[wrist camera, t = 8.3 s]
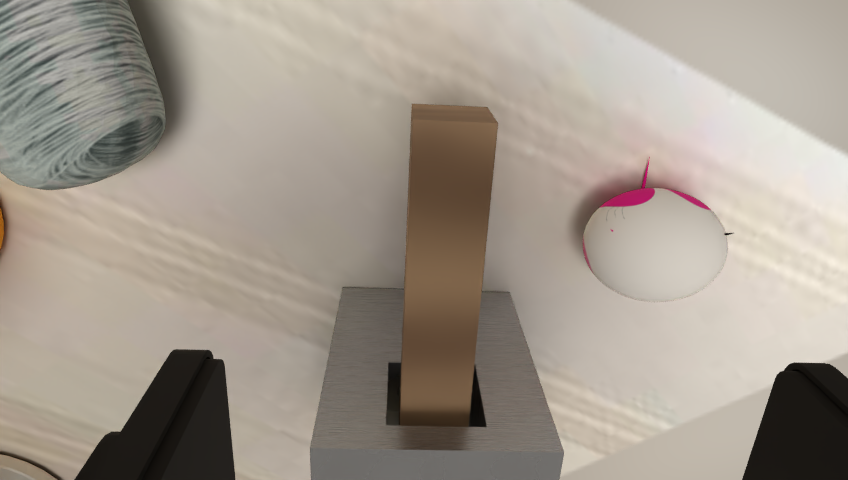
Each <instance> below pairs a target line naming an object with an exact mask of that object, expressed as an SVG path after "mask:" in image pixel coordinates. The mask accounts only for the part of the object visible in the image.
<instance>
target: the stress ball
mask: <svg viewBox="0 0 848 480" xmlns="http://www.w3.org/2000/svg"><path fill="white" fill-rule="evenodd" d="M649 158H650V157H649ZM648 165H649V161H648ZM648 165H647V169H646V172H645V176H644V180H643V184H642V188H641V189H637V190H633V191H628V192H625V193H622V194H620V195H618V196H616V197H614V198H612V199H610V200H608V201H607V202H605V203H604V204H603V205H602V206H600V207H599V208H598V209H597V210H596V211H595V213H594V214H593V215H592V216H591V218H590V219H589V221H588V223H587V225H586V228H585V231H584V235H583V252H584V256H585V259H586V262H587V264H588V266H589V268H590V269H591V271H592V272H593V274H594V275H595V276H596V277H597V278H598V279H599V280H600V281H601V282H602V283H603V284H604V285H606V286H607V287H608V288H610V289H612V290H613V291H615V292H617V293H619V294H621V295H624V296H626V297H629V298H633V299H636V300H642V301H649V302H666V301H674V300H678V299H682V298H685V297H688V296H691V295H693V294H695V293H697V292H699V291H700V290H702V289H704V288H705V287H706V286H708V285H709V284H710V283H711V282H712V281H713V280H714V279H715V278H716V277H717V276H718V274H719V273H720V271H721V270H722V268H723V266H724V263H725V260H726V257H727V251H728V242H727V236H726V235H729V234H733V233H725V230H724V227H723V225H722V223H721V222H720V220H719V219H718V217H717V216H716V215H715V213H714V212H713V211H712V210H711V209H710V208H708V207H707V206H706V205H705V204H703V203H702V202H701V201H699V200H697V199H695V198H694V197H691V196H689V195H687V194H684V193H681V192H678V191H674V190H669V189H661V188H645V184H646V178H647V171H648Z"/></svg>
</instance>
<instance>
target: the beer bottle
mask: <svg viewBox="0 0 848 480" xmlns="http://www.w3.org/2000/svg"><path fill="white" fill-rule="evenodd" d="M3 236H4V221H3V217H2V212H1V208H0V250H1V246H2V241H3Z"/></svg>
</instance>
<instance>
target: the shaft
mask: <svg viewBox="0 0 848 480" xmlns="http://www.w3.org/2000/svg"><path fill="white" fill-rule="evenodd" d="M497 129H498V122H497V121H496V119H495V118H494V117H493V115H492V114H491V112H490V111H489V109H488V108H487V107H471V106H449V105H426V104H412V111H411V135H410V159H409V183H408V208H407V232H406V256H405V280H404V304H403V328H402V352H401V376H400V400H399V424H398V425H400V426H452V427H468V425H469V415H470V404H471V394H472V384H473V374H474V364H475V353H476V343H477V333H478V323H479V312H480V302H481V292H482V282H483V272H484V261H485V251H486V241H487V231H488V221H489V210H490V200H491V190H492V180H493V170H494V159H495V149H496V139H497Z"/></svg>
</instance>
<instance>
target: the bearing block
mask: <svg viewBox="0 0 848 480" xmlns="http://www.w3.org/2000/svg"><path fill="white" fill-rule="evenodd" d="M403 304H404V289H384V288H350V287H343V288H342V293H341V298H340V303H339V308H338V313H337V318H336V323H335V328H334V333H333V338H332V342H331V347H330V352H329V357H328V362H327V367H326V372H325V377H324V382H323V387H322V392H321V397H320V402H319V406H318V411H317V416H316V421H315V426H314V431H313V436H312V441H311V446H310V462H311V480H559V478H560V473H561V467H562V462H563V456H564V451H563V448H562V445H561V442H560V439H559V436H558V433H557V430H556V427H555V424H554V421H553V418H552V416H551V413H550V410H549V407H548V404H547V401H546V398H545V395H544V392H543V389H542V386H541V383H540V380H539V377H538V375H537V372H536V369H535V366H534V363H533V360H532V357H531V354H530V351H529V348H528V345H527V342H526V339H525V336H524V333H523V331H522V328H521V325H520V322H519V319H518V316H517V313H516V310H515V307H514V304H513V301H512V298H511V295H510V292H483V291H482V292H481V302H480V312H479V323H478V333H477V343H476V353H475V364H474V374H473V384H472V394H471V404H470V415H469V425H468V427H452V426H400V425H398V424H399V400H400V376H401V352H402V328H403Z"/></svg>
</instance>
